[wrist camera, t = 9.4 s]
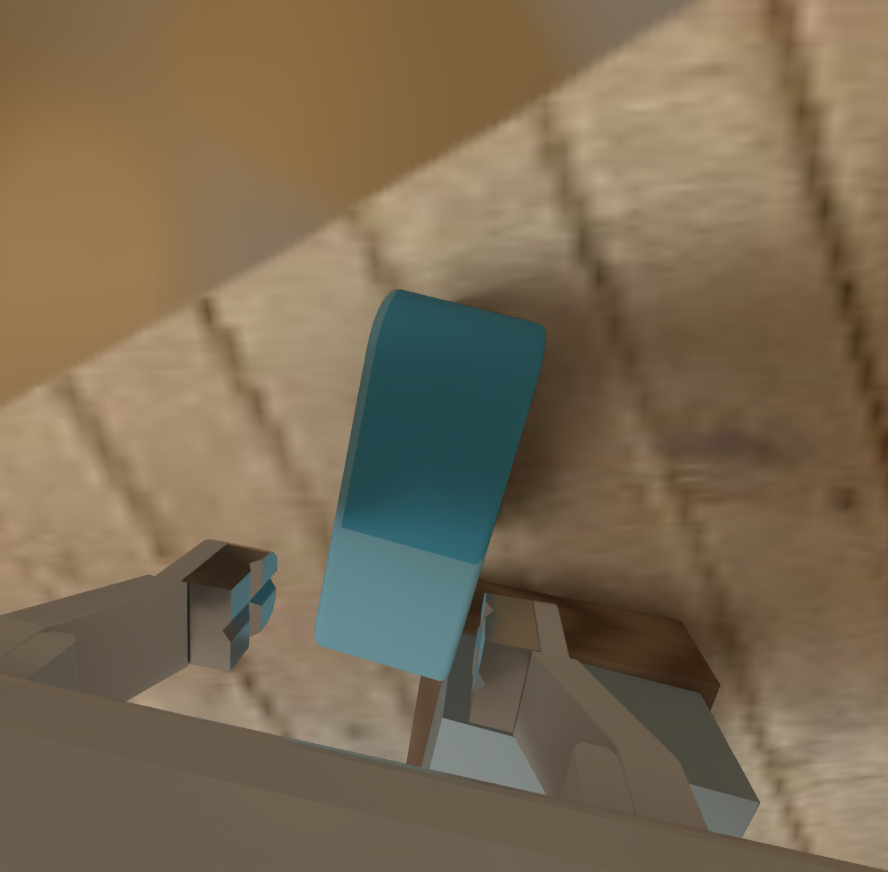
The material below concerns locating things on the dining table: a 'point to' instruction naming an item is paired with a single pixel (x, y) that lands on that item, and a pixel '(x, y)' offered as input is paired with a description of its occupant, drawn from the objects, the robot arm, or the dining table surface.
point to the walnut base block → (592, 651)
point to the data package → (424, 478)
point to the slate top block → (653, 704)
